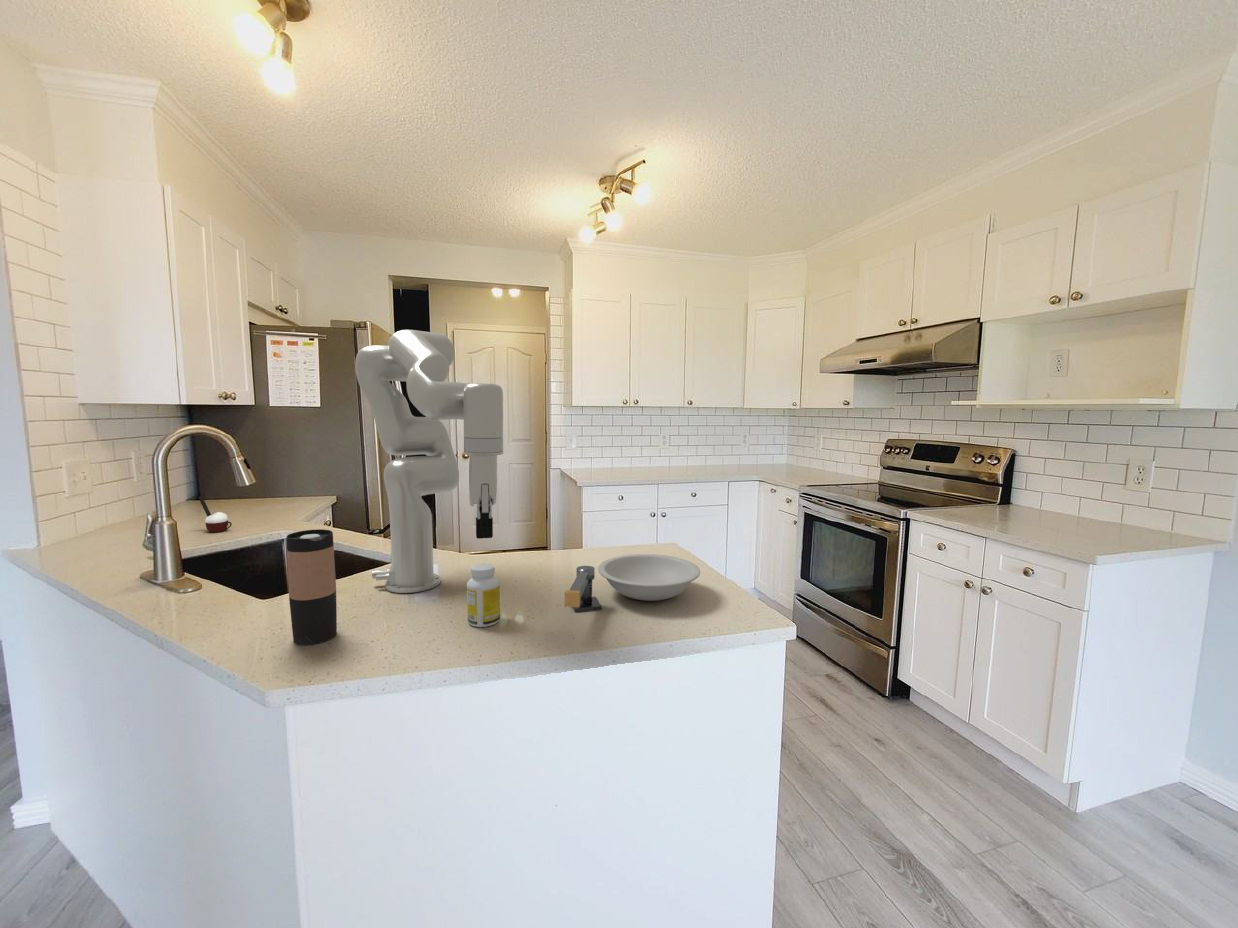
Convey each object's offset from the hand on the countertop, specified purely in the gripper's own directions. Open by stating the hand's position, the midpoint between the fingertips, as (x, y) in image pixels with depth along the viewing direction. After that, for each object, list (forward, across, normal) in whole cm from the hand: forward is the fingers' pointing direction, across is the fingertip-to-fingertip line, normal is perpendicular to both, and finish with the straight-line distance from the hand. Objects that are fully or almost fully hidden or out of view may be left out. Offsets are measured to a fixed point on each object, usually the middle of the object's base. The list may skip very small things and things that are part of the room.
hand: (484, 537), depth 104 cm
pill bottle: (+18, 0, 0) cm, 18 cm away
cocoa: (+20, -102, -85) cm, 134 cm away
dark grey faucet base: (+18, -3, +22) cm, 28 cm away
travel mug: (+18, -1, -31) cm, 36 cm away
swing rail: (+11, +4, +19) cm, 23 cm away
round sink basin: (+18, -6, +38) cm, 42 cm away
